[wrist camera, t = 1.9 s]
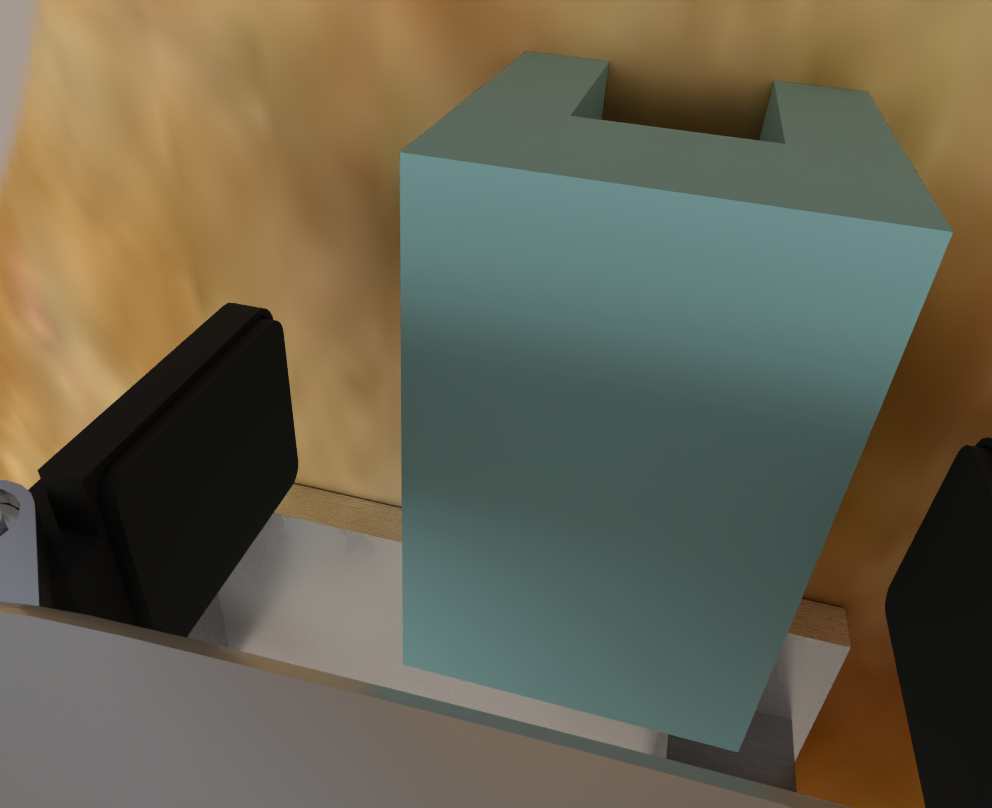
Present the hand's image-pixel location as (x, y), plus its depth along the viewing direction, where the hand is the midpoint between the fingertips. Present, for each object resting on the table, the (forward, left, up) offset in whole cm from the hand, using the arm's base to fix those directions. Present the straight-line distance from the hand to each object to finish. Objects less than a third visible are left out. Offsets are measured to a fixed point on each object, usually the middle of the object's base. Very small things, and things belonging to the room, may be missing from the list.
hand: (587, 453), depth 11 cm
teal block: (0, 0, -6) cm, 6 cm away
